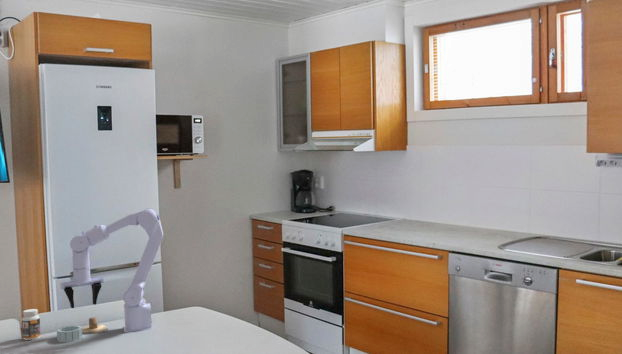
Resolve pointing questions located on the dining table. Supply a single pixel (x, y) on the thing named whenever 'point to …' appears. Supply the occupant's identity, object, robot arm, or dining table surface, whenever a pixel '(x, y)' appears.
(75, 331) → the bowl
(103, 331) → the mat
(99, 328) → the lid
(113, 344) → the dining table surface
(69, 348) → the dining table surface
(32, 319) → the pill bottle
